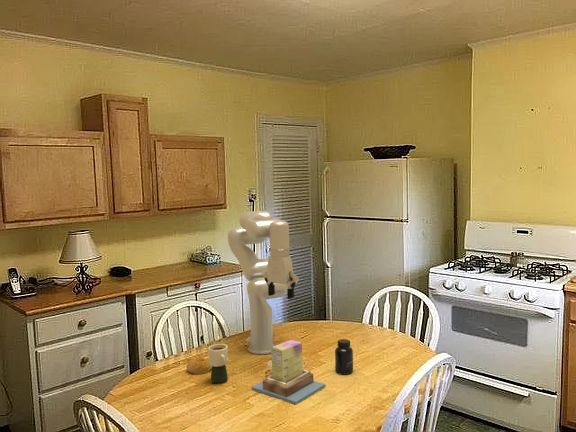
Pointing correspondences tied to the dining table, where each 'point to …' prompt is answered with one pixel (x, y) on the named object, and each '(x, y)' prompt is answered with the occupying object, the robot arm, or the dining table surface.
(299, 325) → the dining table surface
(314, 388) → the board
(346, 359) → the supplement bottle
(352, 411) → the dining table surface
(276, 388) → the tray
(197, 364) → the bagel
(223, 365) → the character mug
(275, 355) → the box
